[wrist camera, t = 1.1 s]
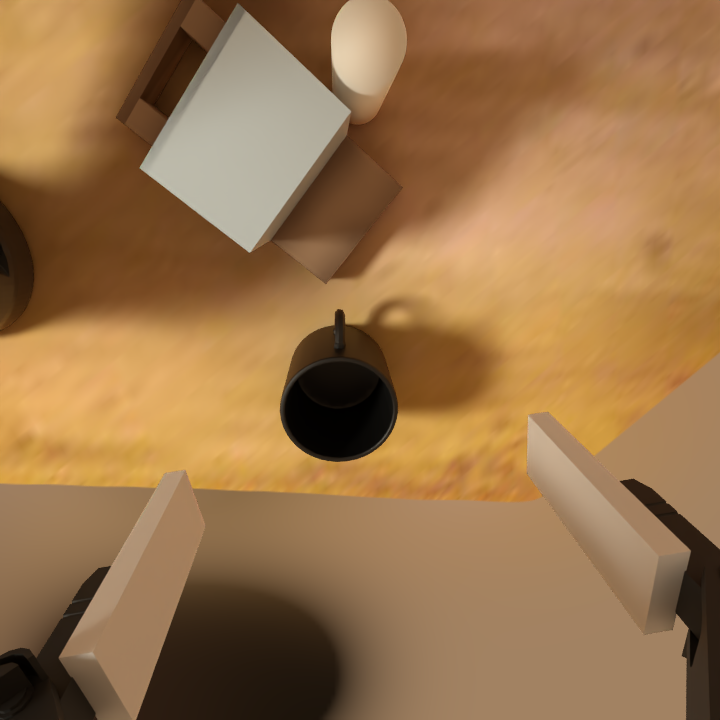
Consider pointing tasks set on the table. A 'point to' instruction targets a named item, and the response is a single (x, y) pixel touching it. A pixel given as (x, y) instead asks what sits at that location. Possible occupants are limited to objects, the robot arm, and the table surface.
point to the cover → (247, 134)
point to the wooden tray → (324, 196)
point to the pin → (366, 55)
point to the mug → (338, 394)
